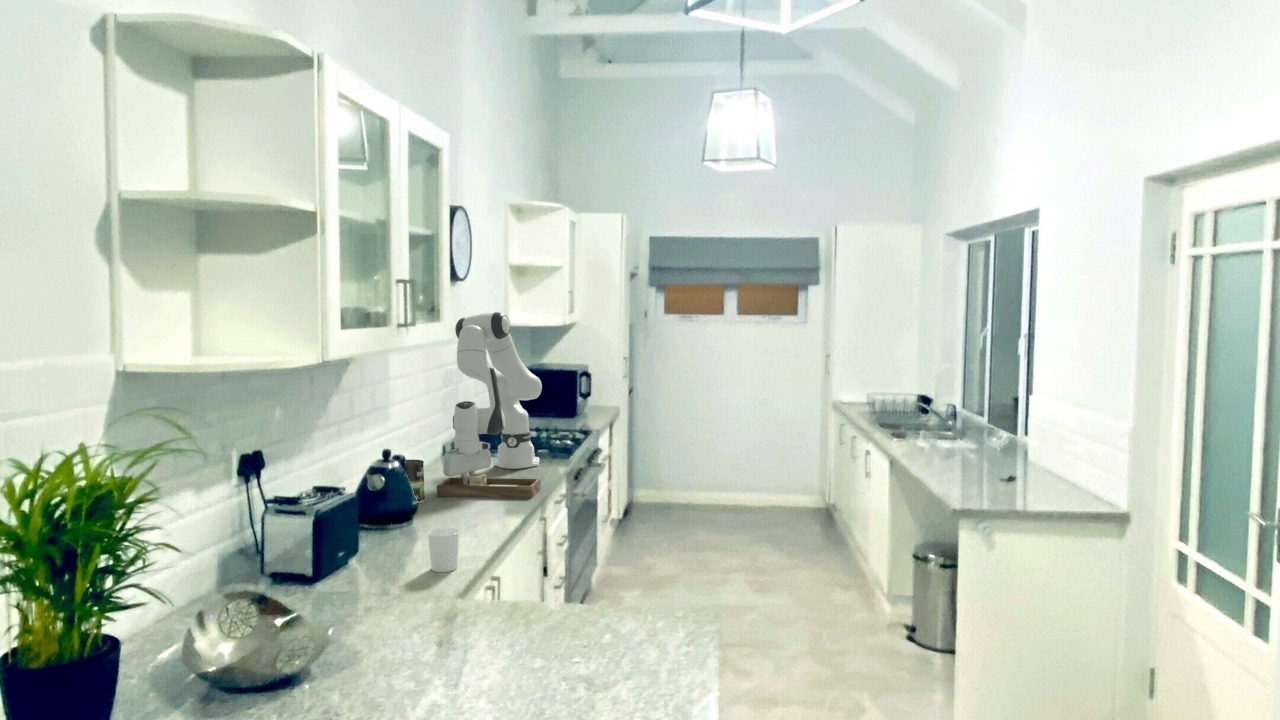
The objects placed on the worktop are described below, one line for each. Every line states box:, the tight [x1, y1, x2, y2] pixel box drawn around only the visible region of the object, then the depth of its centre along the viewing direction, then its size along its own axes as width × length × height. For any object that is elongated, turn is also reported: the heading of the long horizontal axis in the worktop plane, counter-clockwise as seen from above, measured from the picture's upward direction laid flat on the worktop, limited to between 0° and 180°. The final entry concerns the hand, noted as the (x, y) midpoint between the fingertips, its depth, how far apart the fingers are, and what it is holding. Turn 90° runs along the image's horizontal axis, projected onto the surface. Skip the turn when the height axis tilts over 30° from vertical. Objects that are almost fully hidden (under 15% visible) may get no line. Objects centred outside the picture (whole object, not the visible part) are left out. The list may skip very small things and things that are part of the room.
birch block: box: [468, 473, 488, 486], centre depth 320 cm, size 4×4×4 cm
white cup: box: [427, 527, 460, 573], centre depth 234 cm, size 8×8×10 cm
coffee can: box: [404, 459, 426, 505], centre depth 308 cm, size 10×10×14 cm
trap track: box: [436, 477, 541, 499], centre depth 320 cm, size 13×35×4 cm, turn 84°
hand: (467, 484), depth 321 cm, fingers closed
